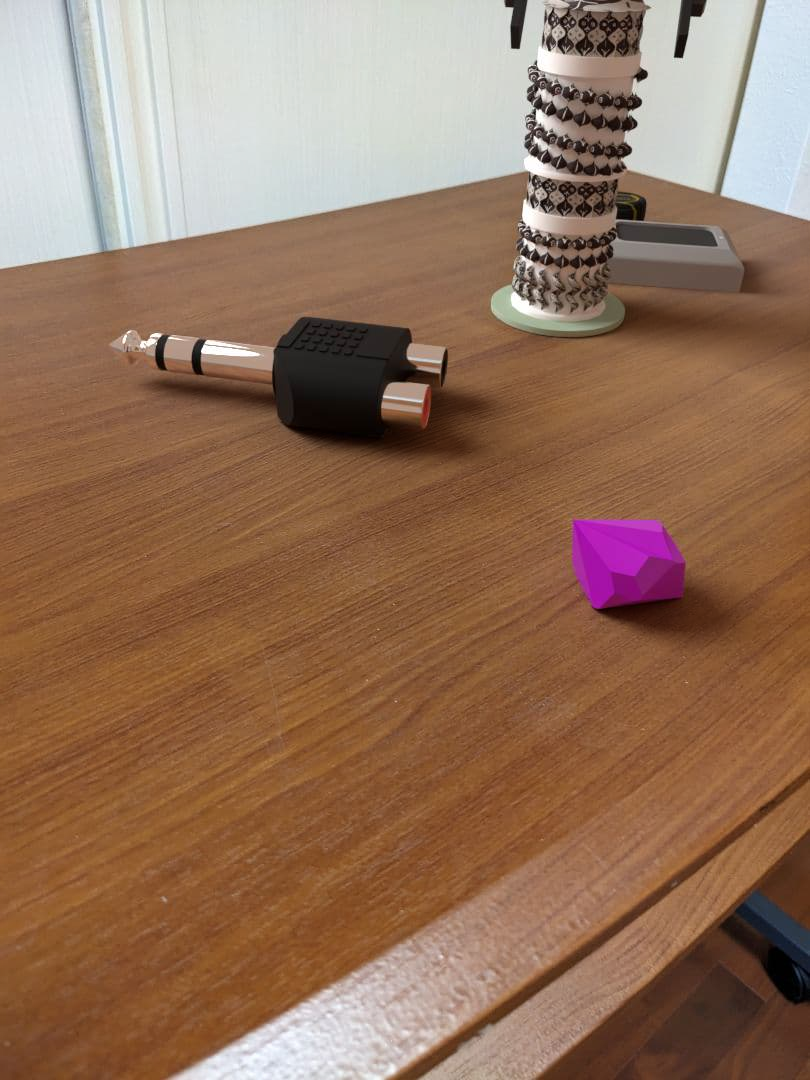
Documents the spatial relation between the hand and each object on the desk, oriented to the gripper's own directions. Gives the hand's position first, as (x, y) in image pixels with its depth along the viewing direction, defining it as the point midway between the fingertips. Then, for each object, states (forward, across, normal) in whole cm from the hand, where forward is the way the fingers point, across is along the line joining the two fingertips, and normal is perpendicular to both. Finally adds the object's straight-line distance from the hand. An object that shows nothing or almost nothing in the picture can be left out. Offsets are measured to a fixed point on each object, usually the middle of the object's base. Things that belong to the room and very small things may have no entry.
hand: (596, 42), depth 76 cm
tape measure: (+1, -3, -28) cm, 29 cm away
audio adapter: (+36, +20, +6) cm, 41 cm away
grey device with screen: (+10, -8, -20) cm, 24 cm away
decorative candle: (+19, 0, -10) cm, 21 cm away
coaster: (+19, 0, -10) cm, 22 cm away
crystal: (+48, -6, +18) cm, 51 cm away
